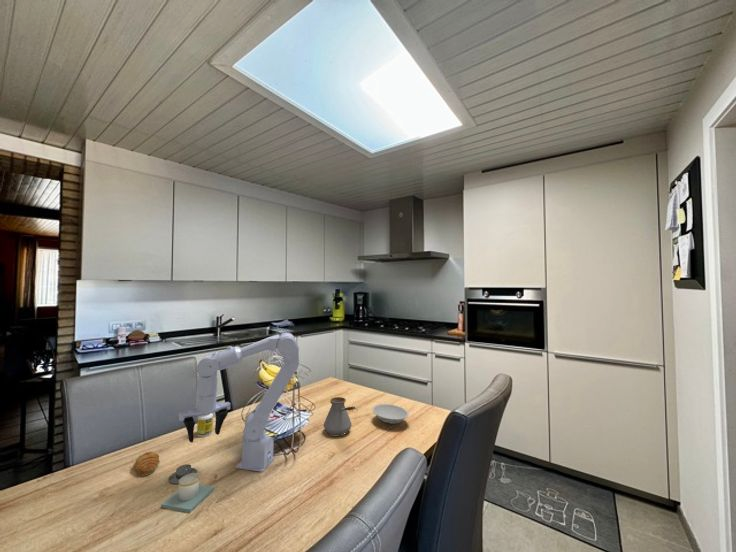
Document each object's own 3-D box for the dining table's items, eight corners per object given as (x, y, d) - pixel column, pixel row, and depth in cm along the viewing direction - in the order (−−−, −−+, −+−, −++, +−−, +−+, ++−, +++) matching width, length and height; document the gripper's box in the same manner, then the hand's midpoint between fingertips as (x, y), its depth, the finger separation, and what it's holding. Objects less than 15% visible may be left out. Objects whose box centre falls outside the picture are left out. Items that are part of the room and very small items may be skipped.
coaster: (214, 490, 87) (214, 487, 87) (190, 512, 78) (190, 509, 78) (187, 485, 88) (187, 482, 88) (160, 507, 80) (160, 504, 80)
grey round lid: (203, 470, 96) (203, 462, 96) (184, 486, 88) (184, 477, 88) (182, 467, 97) (182, 459, 97) (162, 482, 90) (162, 473, 90)
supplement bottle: (205, 438, 116) (206, 412, 117) (193, 436, 118) (194, 411, 118) (215, 431, 122) (216, 407, 122) (203, 430, 123) (204, 405, 123)
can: (199, 497, 82) (199, 480, 83) (178, 503, 80) (178, 486, 80) (198, 486, 87) (198, 471, 87) (178, 493, 84) (178, 476, 84)
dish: (416, 425, 130) (416, 413, 130) (391, 434, 121) (391, 422, 122) (389, 412, 144) (389, 401, 144) (365, 419, 135) (365, 408, 136)
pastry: (160, 472, 95) (161, 460, 95) (133, 481, 90) (134, 468, 91) (158, 459, 102) (158, 447, 102) (133, 466, 98) (133, 454, 98)
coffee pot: (319, 428, 126) (320, 392, 126) (344, 423, 131) (345, 388, 132) (340, 453, 107) (340, 410, 108) (368, 445, 113) (368, 405, 113)
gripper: (225, 386, 105) (223, 426, 104) (177, 395, 95) (175, 439, 94) (233, 391, 100) (231, 433, 99) (183, 402, 90) (180, 448, 89)
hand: (204, 437), depth 96 cm, fingers open, 7 cm apart
